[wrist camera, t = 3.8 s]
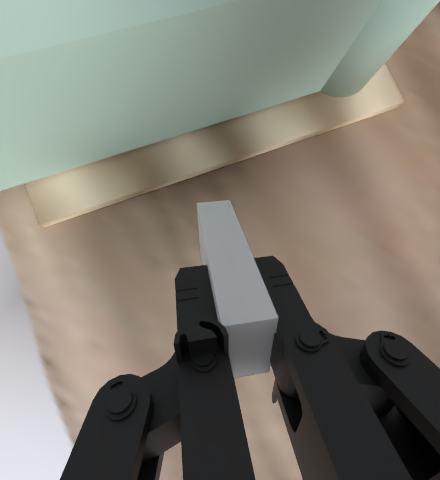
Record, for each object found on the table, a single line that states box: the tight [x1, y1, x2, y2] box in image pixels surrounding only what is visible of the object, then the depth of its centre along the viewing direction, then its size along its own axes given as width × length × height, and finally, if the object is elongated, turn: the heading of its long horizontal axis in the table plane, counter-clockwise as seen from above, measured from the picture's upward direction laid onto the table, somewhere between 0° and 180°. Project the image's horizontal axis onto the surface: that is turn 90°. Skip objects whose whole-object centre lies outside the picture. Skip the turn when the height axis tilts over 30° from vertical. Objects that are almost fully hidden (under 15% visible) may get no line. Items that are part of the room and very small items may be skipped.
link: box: [0, 0, 440, 191], centre depth 14 cm, size 28×5×8 cm, turn 112°
